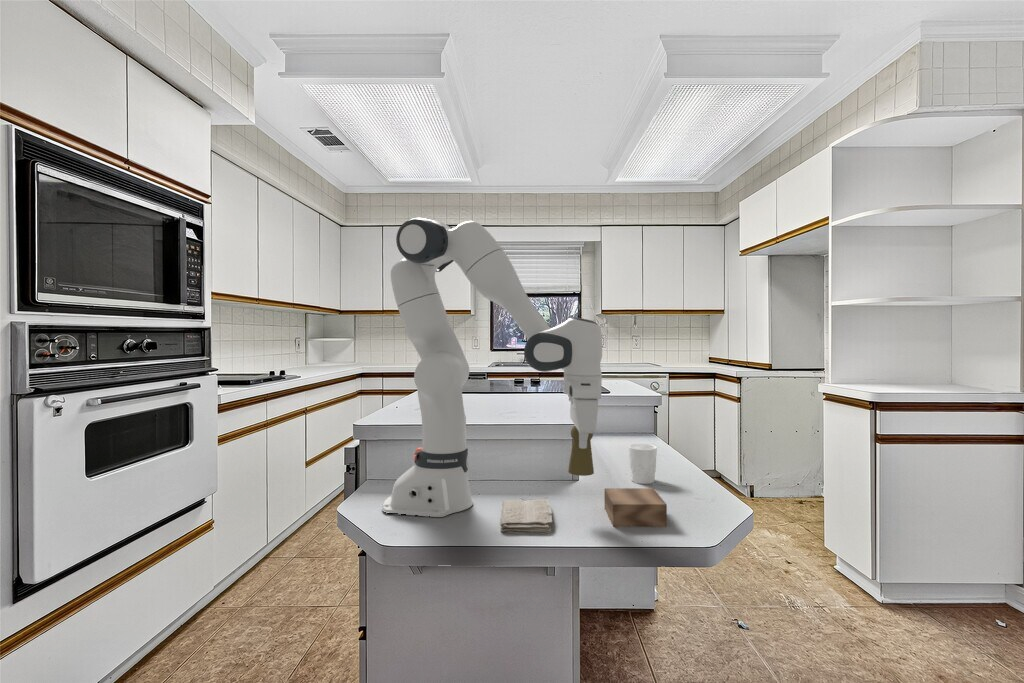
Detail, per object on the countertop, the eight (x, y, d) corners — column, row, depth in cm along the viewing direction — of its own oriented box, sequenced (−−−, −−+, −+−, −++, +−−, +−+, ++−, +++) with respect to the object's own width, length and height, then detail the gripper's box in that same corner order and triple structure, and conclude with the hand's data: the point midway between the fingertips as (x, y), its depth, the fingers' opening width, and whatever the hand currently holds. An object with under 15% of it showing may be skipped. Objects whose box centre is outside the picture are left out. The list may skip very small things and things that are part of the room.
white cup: (656, 485, 151) (656, 450, 150) (628, 483, 153) (628, 448, 152) (656, 478, 158) (656, 444, 158) (629, 476, 160) (629, 443, 160)
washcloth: (499, 536, 116) (499, 522, 116) (501, 508, 134) (501, 496, 134) (554, 536, 116) (554, 521, 116) (548, 508, 134) (548, 495, 134)
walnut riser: (613, 526, 120) (613, 504, 119) (604, 508, 132) (604, 488, 131) (666, 526, 119) (666, 504, 119) (653, 508, 131) (653, 488, 131)
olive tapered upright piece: (593, 476, 122) (595, 428, 122) (567, 474, 123) (568, 427, 123) (593, 469, 128) (594, 424, 128) (568, 468, 129) (569, 422, 129)
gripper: (565, 381, 135) (564, 435, 136) (573, 391, 115) (572, 455, 115) (589, 382, 135) (588, 436, 136) (602, 392, 115) (601, 455, 115)
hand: (581, 445), depth 125 cm, fingers closed on olive tapered upright piece, 4 cm apart
